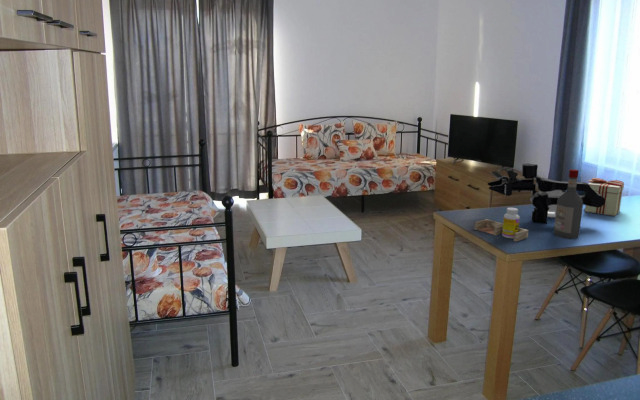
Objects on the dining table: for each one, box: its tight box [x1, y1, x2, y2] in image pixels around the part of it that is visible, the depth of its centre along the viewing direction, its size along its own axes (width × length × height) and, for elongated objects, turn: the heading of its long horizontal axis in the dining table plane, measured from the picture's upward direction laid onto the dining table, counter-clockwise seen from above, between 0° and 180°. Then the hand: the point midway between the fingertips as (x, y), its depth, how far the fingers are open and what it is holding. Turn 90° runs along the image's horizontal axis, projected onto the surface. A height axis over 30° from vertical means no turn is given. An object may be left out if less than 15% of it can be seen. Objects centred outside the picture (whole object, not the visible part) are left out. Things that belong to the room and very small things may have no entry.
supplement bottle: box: [501, 207, 520, 240], centre depth 237 cm, size 7×7×13 cm
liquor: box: [553, 169, 584, 240], centre depth 236 cm, size 9×9×30 cm
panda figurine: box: [540, 190, 567, 218], centre depth 272 cm, size 12×11×15 cm
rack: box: [474, 218, 529, 242], centre depth 242 cm, size 22×9×4 cm, turn 37°
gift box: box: [584, 177, 625, 217], centre depth 280 cm, size 17×18×17 cm
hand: (488, 185), depth 263 cm, fingers open, 9 cm apart
